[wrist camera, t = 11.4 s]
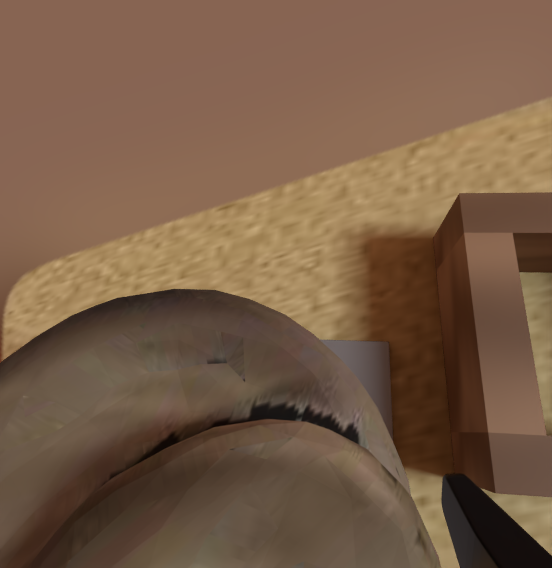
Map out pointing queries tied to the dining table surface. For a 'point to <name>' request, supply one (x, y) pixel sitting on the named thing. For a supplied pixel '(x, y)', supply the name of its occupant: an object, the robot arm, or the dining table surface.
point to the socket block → (494, 338)
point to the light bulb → (196, 445)
